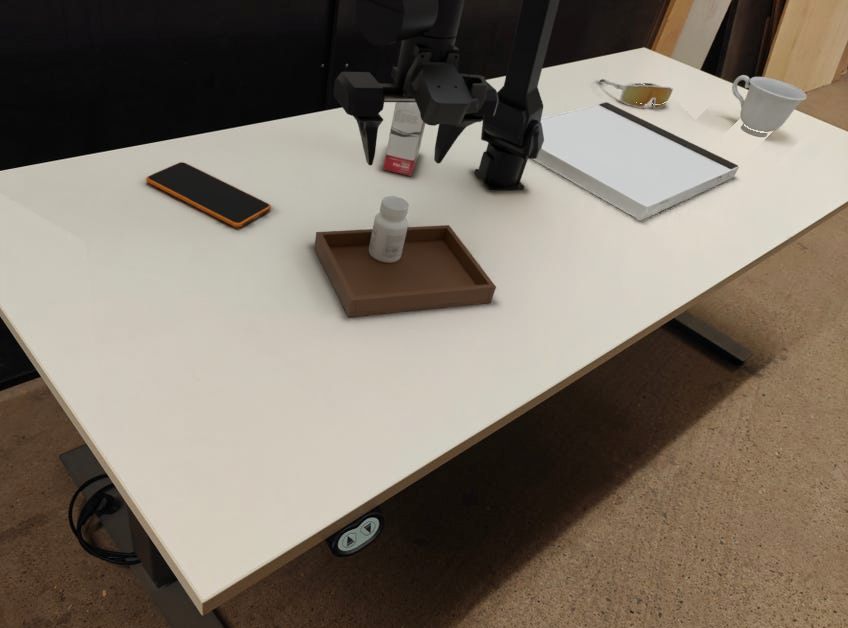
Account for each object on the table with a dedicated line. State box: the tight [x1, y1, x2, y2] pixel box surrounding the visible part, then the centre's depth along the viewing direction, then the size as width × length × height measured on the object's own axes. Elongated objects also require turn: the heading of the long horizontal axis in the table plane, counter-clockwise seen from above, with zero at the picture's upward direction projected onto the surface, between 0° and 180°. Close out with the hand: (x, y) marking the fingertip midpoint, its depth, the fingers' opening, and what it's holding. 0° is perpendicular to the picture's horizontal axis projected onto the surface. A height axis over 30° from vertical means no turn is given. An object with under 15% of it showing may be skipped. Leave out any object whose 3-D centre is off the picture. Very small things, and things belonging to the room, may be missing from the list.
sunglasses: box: [599, 78, 674, 110], centre depth 154 cm, size 14×15×5 cm
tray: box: [313, 224, 497, 318], centre depth 86 cm, size 19×14×2 cm
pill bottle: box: [369, 195, 410, 263], centre depth 86 cm, size 4×4×8 cm
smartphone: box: [145, 161, 272, 228], centre depth 93 cm, size 8×17×1 cm, turn 58°
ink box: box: [382, 102, 426, 177], centre depth 107 cm, size 9×5×12 cm, turn 168°
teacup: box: [731, 74, 808, 138], centre depth 148 cm, size 12×15×10 cm
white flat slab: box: [532, 101, 740, 222], centre depth 126 cm, size 35×2×31 cm
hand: (403, 162), depth 83 cm, fingers open, 9 cm apart
